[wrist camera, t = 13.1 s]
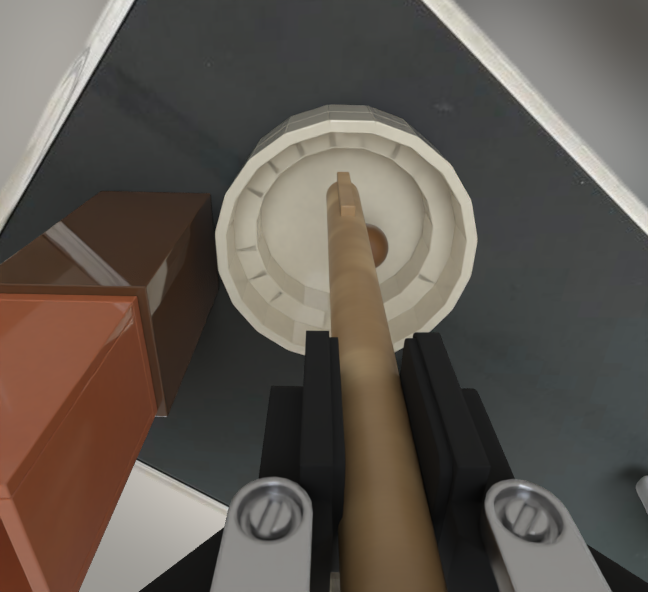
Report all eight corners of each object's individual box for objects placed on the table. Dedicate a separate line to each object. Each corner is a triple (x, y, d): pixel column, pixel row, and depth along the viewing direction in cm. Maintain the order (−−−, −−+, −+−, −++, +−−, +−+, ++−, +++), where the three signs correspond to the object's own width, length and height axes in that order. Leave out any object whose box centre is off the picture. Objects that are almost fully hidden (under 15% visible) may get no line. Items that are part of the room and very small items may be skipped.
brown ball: (374, 207, 31) (343, 224, 29) (406, 242, 31) (376, 262, 29) (354, 234, 33) (324, 251, 32) (383, 267, 33) (354, 287, 31)
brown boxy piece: (100, 190, 32) (-281, 468, 12) (210, 193, 32) (17, 473, 12) (119, 287, 35) (-152, 632, 15) (219, 289, 35) (79, 635, 15)
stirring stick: (326, 218, 25) (340, 691, 7) (326, 171, 24) (343, 598, 6) (358, 218, 25) (447, 690, 7) (359, 171, 24) (471, 597, 6)
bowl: (226, 100, 29) (204, 116, 24) (467, 106, 29) (499, 123, 24) (240, 309, 36) (225, 358, 30) (435, 314, 36) (455, 363, 31)
